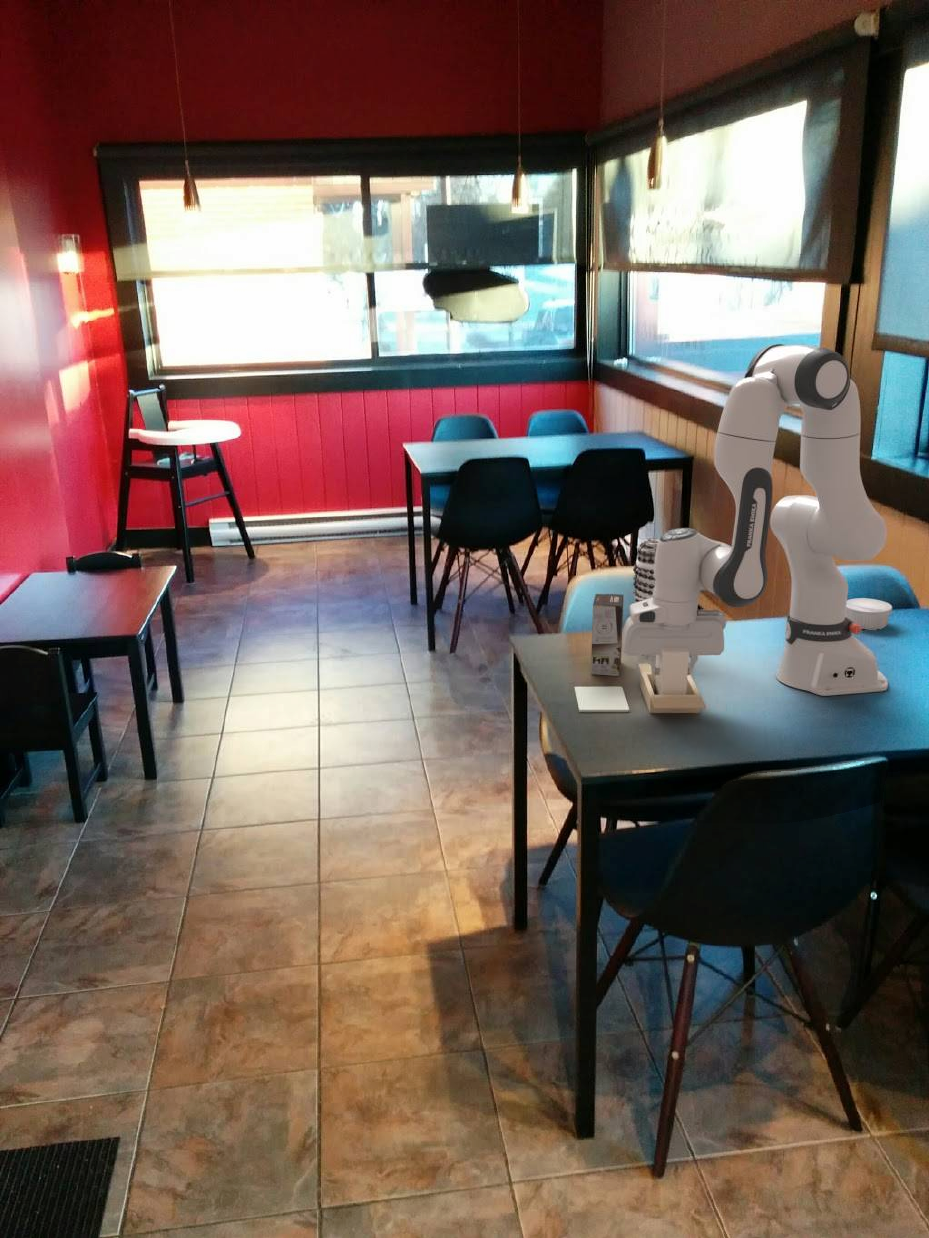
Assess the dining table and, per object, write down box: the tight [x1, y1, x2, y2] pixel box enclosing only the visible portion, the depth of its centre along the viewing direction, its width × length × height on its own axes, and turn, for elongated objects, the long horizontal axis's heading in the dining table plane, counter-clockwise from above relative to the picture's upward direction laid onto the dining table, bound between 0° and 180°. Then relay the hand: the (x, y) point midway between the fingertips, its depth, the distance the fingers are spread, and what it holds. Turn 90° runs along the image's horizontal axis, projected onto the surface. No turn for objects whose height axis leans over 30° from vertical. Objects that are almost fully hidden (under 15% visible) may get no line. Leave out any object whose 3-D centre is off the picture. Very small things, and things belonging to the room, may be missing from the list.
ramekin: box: [845, 597, 893, 631], centre depth 247 cm, size 11×11×5 cm
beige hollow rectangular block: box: [637, 663, 707, 714], centre depth 205 cm, size 10×23×4 cm, turn 179°
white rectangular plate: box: [573, 686, 630, 713], centre depth 206 cm, size 10×12×1 cm
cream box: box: [653, 648, 690, 695], centre depth 203 cm, size 5×8×12 cm, turn 179°
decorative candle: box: [632, 538, 660, 603], centre depth 233 cm, size 9×9×25 cm
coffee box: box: [590, 593, 624, 677], centre depth 220 cm, size 9×6×16 cm
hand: (671, 674), depth 203 cm, fingers closed on cream box, 5 cm apart
